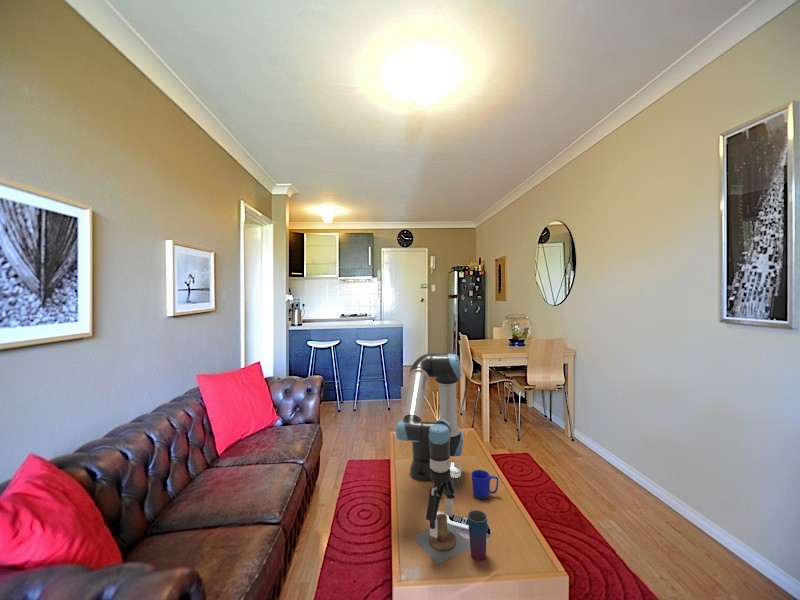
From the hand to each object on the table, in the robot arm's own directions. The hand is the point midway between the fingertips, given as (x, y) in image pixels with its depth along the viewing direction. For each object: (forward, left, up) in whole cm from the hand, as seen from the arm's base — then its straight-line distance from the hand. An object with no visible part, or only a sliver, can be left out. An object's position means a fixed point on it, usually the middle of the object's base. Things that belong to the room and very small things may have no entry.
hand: (441, 525), depth 127 cm
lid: (0, 0, -6) cm, 6 cm away
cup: (+12, +7, -8) cm, 16 cm away
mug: (-15, +35, -8) cm, 39 cm away
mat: (0, 0, -7) cm, 7 cm away
